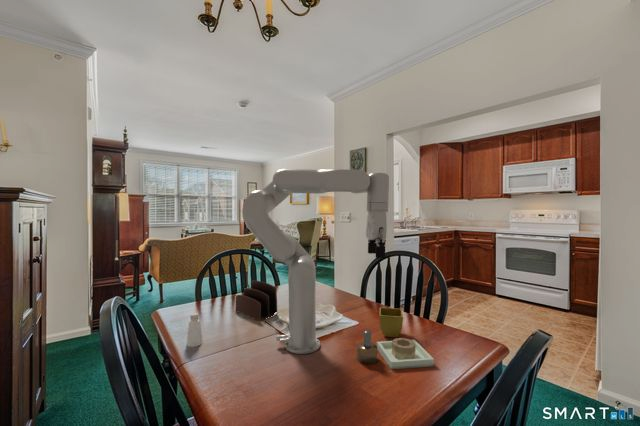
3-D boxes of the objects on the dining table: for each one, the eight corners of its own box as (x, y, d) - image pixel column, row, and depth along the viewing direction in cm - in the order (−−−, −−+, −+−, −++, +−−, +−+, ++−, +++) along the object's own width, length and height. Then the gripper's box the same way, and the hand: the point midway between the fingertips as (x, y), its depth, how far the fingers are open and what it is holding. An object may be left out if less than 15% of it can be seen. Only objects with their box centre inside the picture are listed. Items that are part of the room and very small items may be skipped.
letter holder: (252, 306, 151) (252, 278, 151) (277, 315, 138) (277, 285, 138) (235, 311, 144) (234, 282, 144) (260, 321, 130) (259, 289, 130)
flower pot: (403, 340, 112) (403, 316, 111) (379, 338, 113) (379, 315, 113) (401, 330, 120) (401, 308, 120) (379, 329, 122) (379, 307, 122)
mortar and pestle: (360, 365, 94) (360, 336, 94) (355, 354, 101) (355, 328, 101) (380, 363, 95) (380, 335, 95) (373, 353, 102) (374, 327, 102)
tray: (391, 369, 92) (391, 362, 92) (376, 347, 106) (376, 341, 106) (434, 366, 94) (434, 359, 94) (414, 345, 108) (414, 339, 108)
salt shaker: (205, 342, 111) (205, 312, 110) (194, 348, 106) (193, 317, 105) (195, 339, 113) (194, 310, 113) (183, 345, 108) (182, 315, 108)
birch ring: (397, 360, 96) (397, 348, 96) (389, 350, 103) (389, 338, 103) (418, 359, 97) (418, 347, 97) (408, 349, 104) (408, 337, 104)
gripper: (361, 207, 115) (359, 251, 115) (374, 207, 98) (372, 259, 98) (380, 207, 116) (378, 251, 116) (396, 208, 98) (394, 260, 99)
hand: (376, 255), depth 107 cm, fingers open, 9 cm apart
